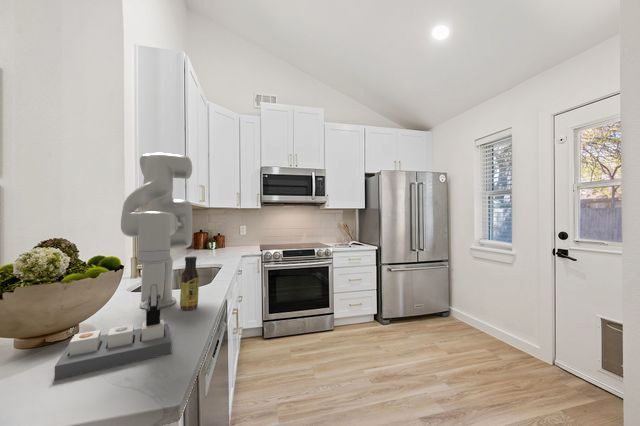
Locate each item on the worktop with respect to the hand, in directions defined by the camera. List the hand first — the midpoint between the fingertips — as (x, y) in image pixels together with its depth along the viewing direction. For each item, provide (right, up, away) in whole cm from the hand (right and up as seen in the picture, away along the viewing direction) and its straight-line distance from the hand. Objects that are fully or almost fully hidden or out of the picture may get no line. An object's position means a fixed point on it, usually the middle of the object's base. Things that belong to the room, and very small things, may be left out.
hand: (153, 323), depth 73 cm
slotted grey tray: (-6, -6, -4) cm, 9 cm away
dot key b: (-12, -4, -7) cm, 15 cm away
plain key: (-6, -4, -3) cm, 8 cm away
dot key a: (0, -4, 0) cm, 4 cm away
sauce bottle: (-5, -7, +30) cm, 31 cm away
